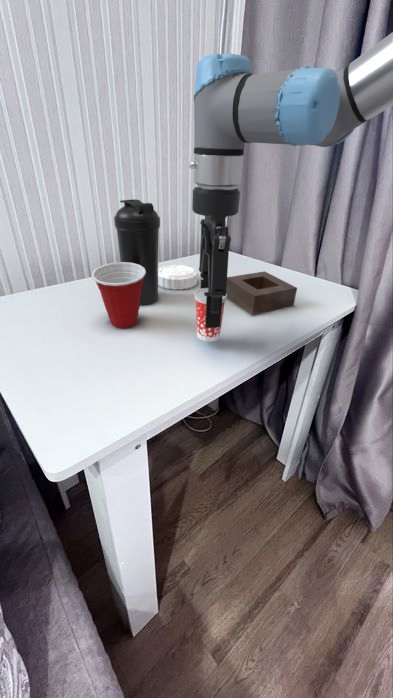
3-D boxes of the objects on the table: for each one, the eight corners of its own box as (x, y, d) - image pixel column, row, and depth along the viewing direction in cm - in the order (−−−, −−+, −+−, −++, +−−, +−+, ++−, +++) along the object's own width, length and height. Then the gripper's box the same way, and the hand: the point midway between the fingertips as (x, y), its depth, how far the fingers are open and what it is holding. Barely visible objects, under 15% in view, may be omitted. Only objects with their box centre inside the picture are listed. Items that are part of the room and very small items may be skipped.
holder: (262, 288, 94) (264, 271, 91) (293, 306, 84) (297, 287, 82) (223, 295, 89) (225, 277, 86) (252, 315, 79) (255, 296, 76)
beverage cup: (202, 346, 63) (206, 275, 55) (187, 332, 67) (188, 264, 60) (229, 339, 65) (236, 270, 58) (213, 326, 70) (217, 260, 62)
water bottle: (146, 287, 91) (142, 196, 79) (169, 299, 85) (169, 203, 72) (113, 296, 85) (103, 199, 73) (136, 310, 79) (129, 207, 66)
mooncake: (188, 293, 89) (188, 280, 87) (148, 285, 92) (147, 273, 90) (203, 278, 98) (203, 267, 97) (166, 272, 102) (166, 261, 100)
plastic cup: (88, 328, 71) (79, 274, 64) (115, 308, 79) (110, 259, 73) (133, 339, 68) (129, 283, 61) (156, 317, 76) (154, 266, 70)
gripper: (185, 180, 60) (184, 299, 72) (202, 194, 43) (197, 344, 56) (226, 180, 61) (218, 298, 73) (257, 195, 45) (240, 342, 57)
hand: (209, 318), depth 64 cm, fingers closed on beverage cup, 6 cm apart
